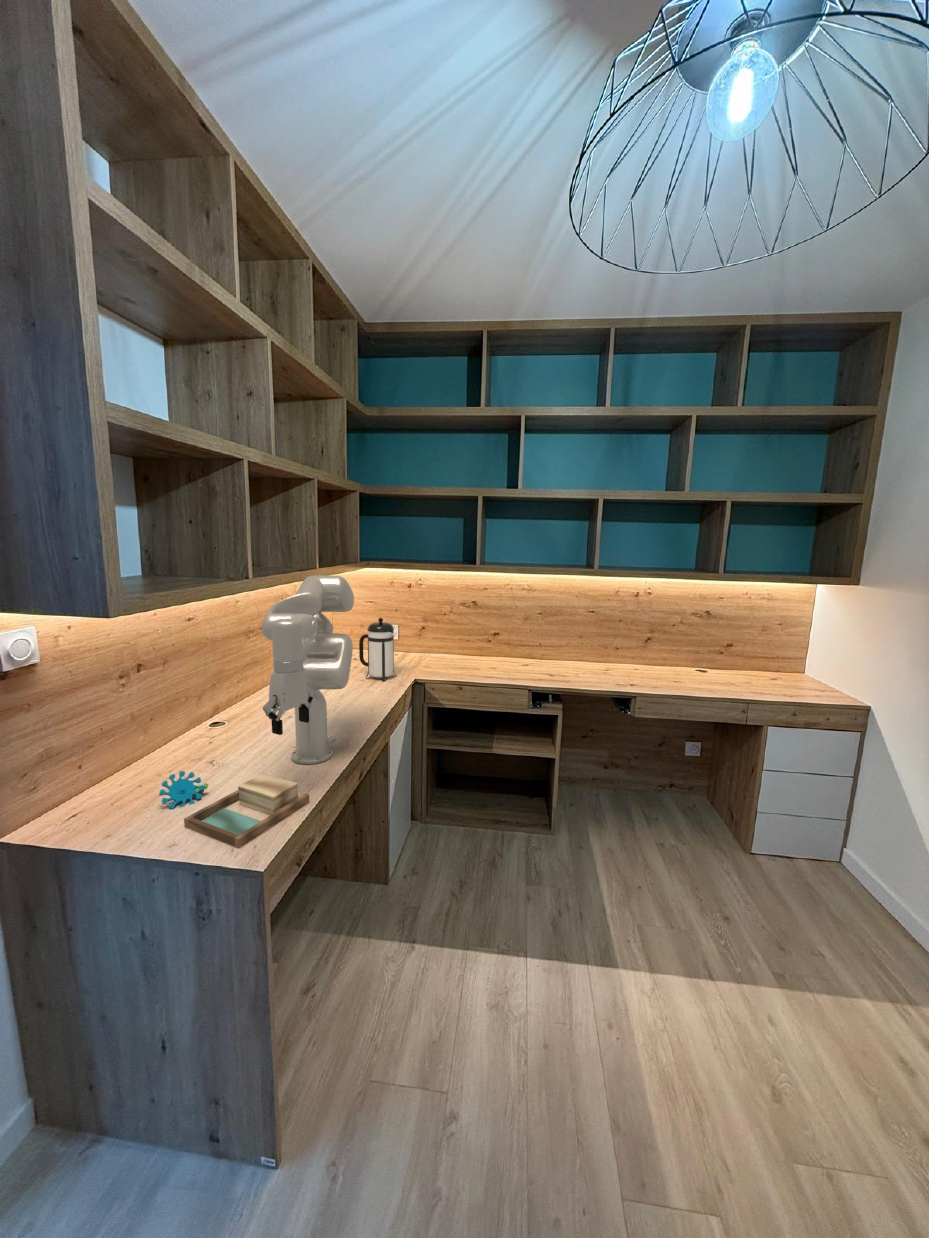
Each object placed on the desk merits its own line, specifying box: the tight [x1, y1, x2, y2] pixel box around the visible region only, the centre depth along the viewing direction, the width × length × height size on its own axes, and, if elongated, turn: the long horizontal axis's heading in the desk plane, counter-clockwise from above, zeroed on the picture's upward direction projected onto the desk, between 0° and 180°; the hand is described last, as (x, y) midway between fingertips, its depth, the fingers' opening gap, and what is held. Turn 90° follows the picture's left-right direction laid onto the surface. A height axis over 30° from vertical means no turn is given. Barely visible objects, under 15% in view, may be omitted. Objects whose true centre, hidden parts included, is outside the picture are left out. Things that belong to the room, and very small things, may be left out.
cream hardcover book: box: [237, 772, 299, 816], centre depth 130 cm, size 8×12×5 cm
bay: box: [183, 789, 310, 849], centre depth 125 cm, size 22×18×3 cm
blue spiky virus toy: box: [158, 770, 209, 810], centre depth 131 cm, size 11×6×10 cm
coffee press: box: [358, 617, 397, 682], centre depth 247 cm, size 17×16×30 cm
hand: (291, 727), depth 135 cm, fingers open, 9 cm apart
